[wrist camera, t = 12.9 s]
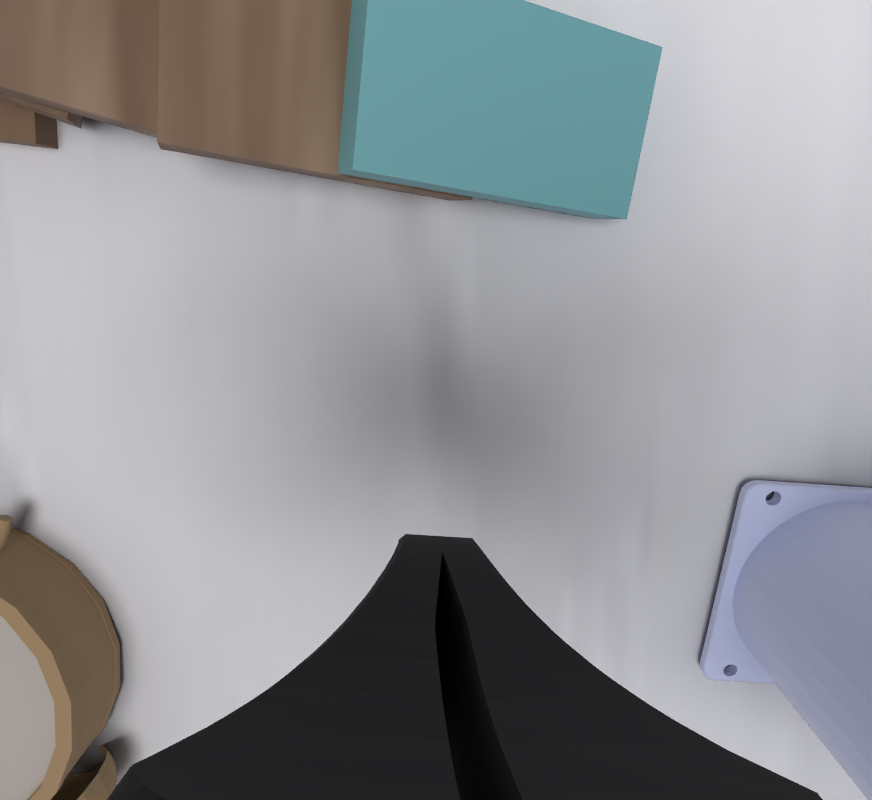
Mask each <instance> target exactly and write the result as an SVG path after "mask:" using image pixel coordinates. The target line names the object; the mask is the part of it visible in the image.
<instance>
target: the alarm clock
mask: <svg viewBox="0 0 872 800" xmlns="http://www.w3.org/2000/svg"><path fill="white" fill-rule="evenodd" d="M12 521H13V519H12V518H11V517H10V516H7V515H0V800H107V799H108V797H109V796H110V795H111V793H112V792H113V790H114V789H115V785H116V779H117V771H116V765H115V762H114V760H113V757H112V756H111V754H110V753H109V751H108V750H107V749H106V747H105V746H99V747H100V750H101V752H102V755H103V762H102V763H101V764H100V765H99V766H98V767H97V768H95V769H94V770H93V771H92V772H88V773H79V774H72V773H69V772H70V771H71V770H72V768H73V767H74V765H75V764H76V763H77V761H78V760H79V759H80V757H81V756H82V755H83V753H84V752H85V751H86V749H87V748H88V746H89V745H90V744H91V743H92V742H93V740H94V739H95V738H96V737H97V736H98V735H99V734H100V732H101V731H102V730H103V729H104V727H105V726H106V724H107V721H108V719H109V716H110V713H111V710H112V708H113V705H114V702H115V700H116V697H117V694H118V692H119V689H120V643H119V640H118V638H117V635H116V632H115V629H114V627H113V624H112V621H111V618H110V616H109V613H108V610H107V607H106V605H105V602H104V600H103V599H102V598H101V596H100V595H99V594H98V593H97V591H96V590H95V589H94V587H93V586H92V585H91V584H90V582H89V581H88V580H87V578H86V577H85V576H84V575H83V574H82V573H81V571H80V570H79V569H78V568H77V567H76V566H75V564H74V563H72V562H71V561H69V560H68V559H66V558H65V557H63V556H62V555H60V554H59V553H57V552H56V551H54V550H53V549H51V548H50V547H48V546H47V545H45V544H44V543H42V542H41V541H39V540H38V539H36V538H35V537H33V536H32V535H30V534H28V533H25V532H22V531H19V530H16V529H14V528H11V525H12Z"/></svg>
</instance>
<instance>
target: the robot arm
mask: <svg viewBox="0 0 872 800" xmlns="http://www.w3.org/2000/svg"><path fill="white" fill-rule="evenodd" d="M771 492H774V496H773V498H771V499H770V500H767V501H766V497H767V495H768V494H769V493H771ZM727 665H731V666H730V667H728V668H726V669H724V668H725V667H726V666H727ZM700 668H701V670H702V672H703V673H704V675H705V676H706V677H707V678H709V679H712V680H724V681H743V682H763V683H775V684H776V685H777V687H778V688H779V689H780V690H781V692H782V693H783V694H784V695H785V697H786V698H787V699H788V700H789V702H790V703H791V704H792V705H793V707H794V708H795V709H796V710H797V712H798V713H799V714H800V715H801V717H802V718H803V719H804V720H805V722H806V723H807V724H808V725H809V727H810V728H811V729H812V730H813V731H814V733H815V734H816V735H817V736H818V738H819V739H820V740H821V741H822V743H823V744H824V745H825V746H826V748H827V749H828V750H829V751H830V753H831V754H832V755H833V756H834V758H835V759H836V760H837V761H838V763H839V764H840V765H841V766H842V768H843V769H844V770H845V771H846V773H847V774H848V775H849V776H850V778H851V779H852V780H853V781H854V783H855V784H856V785H857V786H858V788H859V789H860V790H861V791H862V793H863V794H864V795H865V796H866V798H867V799H868V800H872V488H866V487H851V486H836V485H822V484H807V483H792V482H778V481H763V480H754V481H750V482H748V483H746V484H745V485H744V486H743V487H742V489H741V491H740V494H739V498H738V502H737V507H736V511H735V515H734V519H733V524H732V528H731V532H730V536H729V541H728V545H727V549H726V553H725V558H724V562H723V566H722V571H721V575H720V579H719V583H718V588H717V592H716V596H715V600H714V605H713V609H712V613H711V617H710V622H709V626H708V630H707V634H706V639H705V643H704V647H703V651H702V656H701V660H700ZM107 800H822V799H821V797H820V796H819V795H818V793H816V792H814V791H812V790H810V789H808V788H806V787H803V786H801V785H799V784H797V783H795V782H793V781H791V780H789V779H787V778H785V777H783V776H780V775H778V774H776V773H774V772H772V771H770V770H768V769H766V768H764V767H762V766H759V765H757V764H755V763H753V762H751V761H749V760H747V759H745V758H743V757H741V756H739V755H736V754H734V753H732V752H730V751H728V750H726V749H725V748H723V747H721V746H719V745H717V744H715V743H714V742H712V741H710V740H708V739H706V738H705V737H703V736H701V735H699V734H698V733H696V732H694V731H692V730H690V729H689V728H687V727H685V726H683V725H682V724H680V723H678V722H676V721H675V720H673V719H671V718H670V717H668V716H666V715H665V714H663V713H662V712H660V711H658V710H657V709H655V708H653V707H652V706H650V705H649V704H647V703H646V702H644V701H643V700H641V699H640V698H638V697H637V696H635V695H634V694H632V693H631V692H630V691H628V690H627V689H625V688H624V687H622V686H621V685H619V684H618V683H616V682H615V681H613V680H612V679H611V678H609V677H608V676H607V675H605V674H604V673H603V672H601V671H600V670H599V669H597V668H596V667H595V666H593V665H592V664H591V663H590V662H588V661H587V660H586V659H585V658H584V657H582V656H581V655H580V654H579V653H578V652H576V651H575V650H574V649H573V648H571V647H570V646H569V645H568V644H567V643H565V642H564V641H563V640H562V639H561V638H560V637H559V636H558V635H557V634H555V633H554V632H553V631H552V630H551V629H550V628H549V627H548V626H547V625H546V624H545V623H544V622H543V621H542V620H541V619H540V618H539V617H538V616H537V615H536V614H535V613H534V612H533V611H532V610H531V609H530V608H529V607H528V606H527V605H526V604H525V603H524V602H523V600H522V599H521V598H520V597H519V596H518V595H517V594H516V592H515V591H514V590H513V589H512V588H511V587H510V585H509V584H508V583H507V582H506V581H505V579H504V578H503V577H502V576H501V575H500V573H499V572H498V571H497V569H496V568H495V567H494V566H493V564H492V563H491V562H490V560H489V559H488V558H487V556H486V555H485V554H484V552H483V551H482V550H481V549H480V547H479V546H478V545H477V543H476V542H475V541H474V540H473V539H472V538H459V537H443V536H427V535H411V534H405V535H404V536H403V537H402V538H400V539H399V542H398V545H397V547H396V550H395V552H394V554H393V556H392V558H391V559H390V561H389V563H388V564H387V566H386V568H385V569H384V571H383V572H382V574H381V575H380V577H379V578H378V580H377V581H376V583H375V584H374V586H373V587H372V588H371V590H370V591H369V593H368V594H367V595H366V596H365V598H364V599H363V600H362V601H361V602H360V604H359V605H358V606H357V607H356V608H355V610H354V611H353V612H352V613H351V615H350V616H349V617H348V618H347V619H346V620H345V621H344V623H343V624H342V625H341V626H340V627H339V628H338V629H337V630H336V631H335V632H334V633H333V634H332V635H331V636H330V637H329V638H328V639H327V640H326V641H325V642H324V643H323V644H322V645H321V646H320V647H319V648H318V649H317V650H316V651H314V652H313V653H312V654H311V655H310V656H309V657H308V658H306V659H305V660H304V661H303V662H302V663H300V664H299V665H298V666H297V667H296V668H294V669H293V670H292V671H291V672H290V673H289V674H287V675H286V676H285V677H284V678H282V679H281V680H280V681H278V682H277V683H276V684H274V685H273V686H272V687H270V688H269V689H268V690H266V691H265V692H263V693H262V694H260V695H259V696H257V697H256V698H254V699H253V700H251V701H250V702H248V703H247V704H245V705H243V706H242V707H240V708H239V709H237V710H235V711H234V712H232V713H230V714H229V715H227V716H226V717H224V718H222V719H220V720H219V721H217V722H215V723H213V724H212V725H210V726H208V727H207V728H205V729H203V730H201V731H199V732H197V733H195V734H193V735H191V736H189V737H187V738H185V739H183V740H181V741H179V742H177V743H175V744H174V745H172V746H170V747H168V748H166V749H164V750H162V751H160V752H158V753H156V754H154V755H152V756H150V757H148V758H146V759H144V760H142V761H139V762H137V763H135V764H133V765H132V766H131V767H130V768H129V770H128V771H127V772H126V774H125V775H124V776H123V778H122V779H121V781H120V782H119V783H118V785H117V786H116V788H115V789H114V790H113V792H112V793H111V795H110V796H109V797H108V799H107Z"/></svg>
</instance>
